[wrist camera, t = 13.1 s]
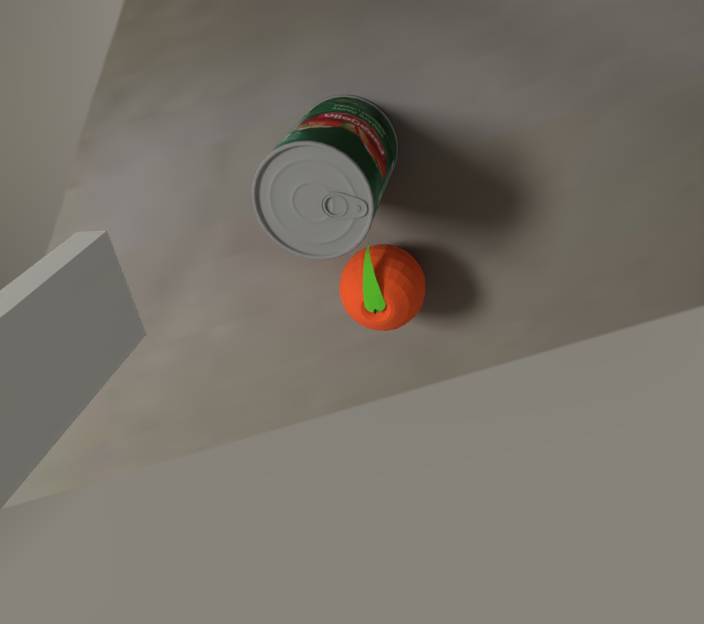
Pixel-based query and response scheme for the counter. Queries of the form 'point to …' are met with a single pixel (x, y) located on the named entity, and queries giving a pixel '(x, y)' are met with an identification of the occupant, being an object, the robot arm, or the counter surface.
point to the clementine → (382, 287)
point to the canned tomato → (326, 178)
